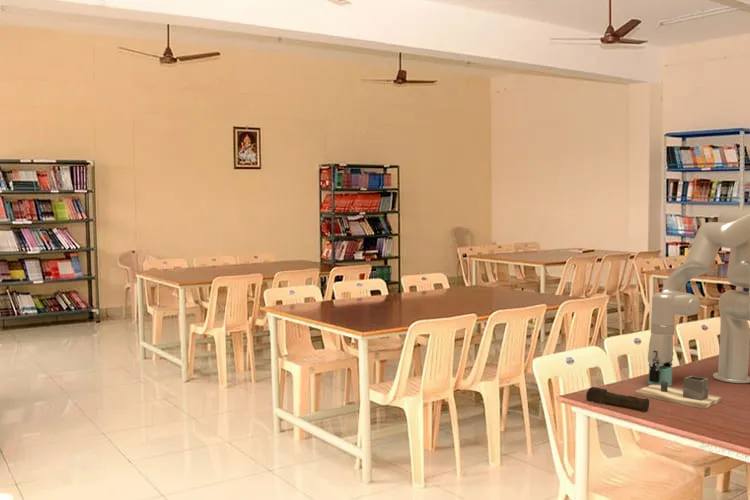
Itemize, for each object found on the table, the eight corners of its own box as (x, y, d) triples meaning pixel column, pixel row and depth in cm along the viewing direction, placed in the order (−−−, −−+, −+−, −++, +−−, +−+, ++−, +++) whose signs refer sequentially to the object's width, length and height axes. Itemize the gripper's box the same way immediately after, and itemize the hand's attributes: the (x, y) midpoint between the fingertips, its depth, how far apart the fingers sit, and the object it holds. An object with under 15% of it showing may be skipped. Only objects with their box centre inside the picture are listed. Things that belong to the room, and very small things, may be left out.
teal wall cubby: (655, 382, 259) (656, 364, 259) (671, 385, 255) (672, 367, 255) (648, 384, 255) (649, 367, 255) (664, 387, 251) (665, 370, 251)
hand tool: (650, 410, 224) (650, 395, 224) (645, 413, 221) (646, 397, 221) (590, 399, 236) (590, 384, 236) (584, 401, 233) (585, 386, 233)
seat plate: (653, 387, 252) (654, 366, 251) (721, 400, 236) (722, 378, 236) (634, 394, 242) (635, 372, 241) (704, 408, 226) (705, 385, 226)
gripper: (662, 325, 263) (660, 373, 264) (640, 330, 250) (638, 381, 251) (684, 328, 257) (681, 377, 259) (662, 334, 245) (660, 385, 246)
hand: (660, 379), depth 255 cm, fingers open, 9 cm apart
